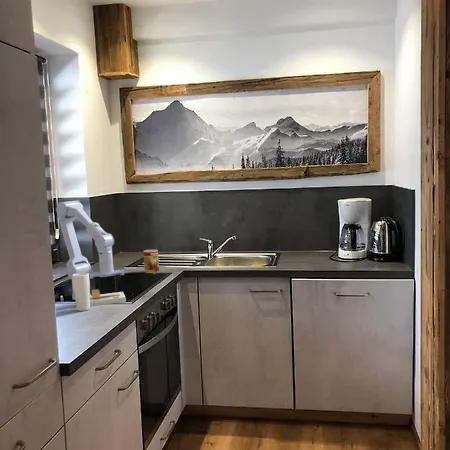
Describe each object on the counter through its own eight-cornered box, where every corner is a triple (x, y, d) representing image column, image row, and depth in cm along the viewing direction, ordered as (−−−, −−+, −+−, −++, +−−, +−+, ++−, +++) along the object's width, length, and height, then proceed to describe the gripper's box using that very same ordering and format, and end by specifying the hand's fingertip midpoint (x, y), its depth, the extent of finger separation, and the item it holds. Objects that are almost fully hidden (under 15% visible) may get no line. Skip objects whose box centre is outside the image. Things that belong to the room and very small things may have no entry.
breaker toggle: (92, 296, 236) (91, 290, 236) (99, 295, 237) (98, 289, 237) (92, 298, 231) (92, 292, 231) (99, 297, 232) (99, 291, 232)
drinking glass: (93, 307, 226) (90, 272, 224) (89, 311, 219) (87, 275, 218) (77, 308, 226) (74, 273, 224) (73, 312, 219) (70, 276, 218)
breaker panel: (86, 300, 238) (86, 295, 238) (123, 296, 243) (122, 291, 243) (87, 306, 228) (87, 301, 228) (125, 301, 232) (125, 296, 232)
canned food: (156, 273, 291) (155, 251, 290) (142, 273, 293) (141, 252, 291) (161, 270, 299) (159, 249, 297) (147, 270, 300) (146, 249, 299)
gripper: (89, 265, 228) (92, 296, 230) (124, 261, 232) (126, 292, 234) (88, 262, 235) (91, 293, 236) (122, 259, 239) (124, 289, 240)
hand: (108, 292), depth 235 cm, fingers open, 6 cm apart
